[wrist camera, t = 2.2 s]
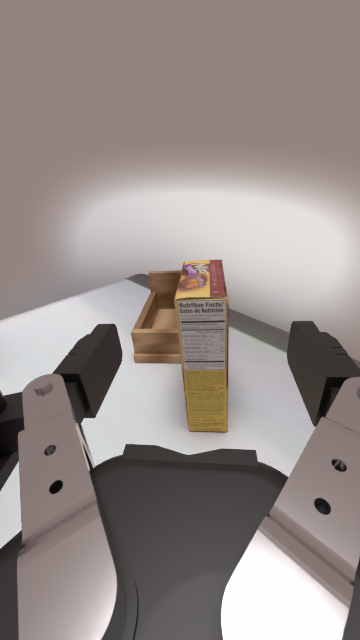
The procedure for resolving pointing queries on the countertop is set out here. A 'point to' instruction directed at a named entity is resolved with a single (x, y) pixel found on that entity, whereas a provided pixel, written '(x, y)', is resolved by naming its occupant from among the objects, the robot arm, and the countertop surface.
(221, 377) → the candy box
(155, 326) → the brown wooden open box
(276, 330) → the countertop surface
